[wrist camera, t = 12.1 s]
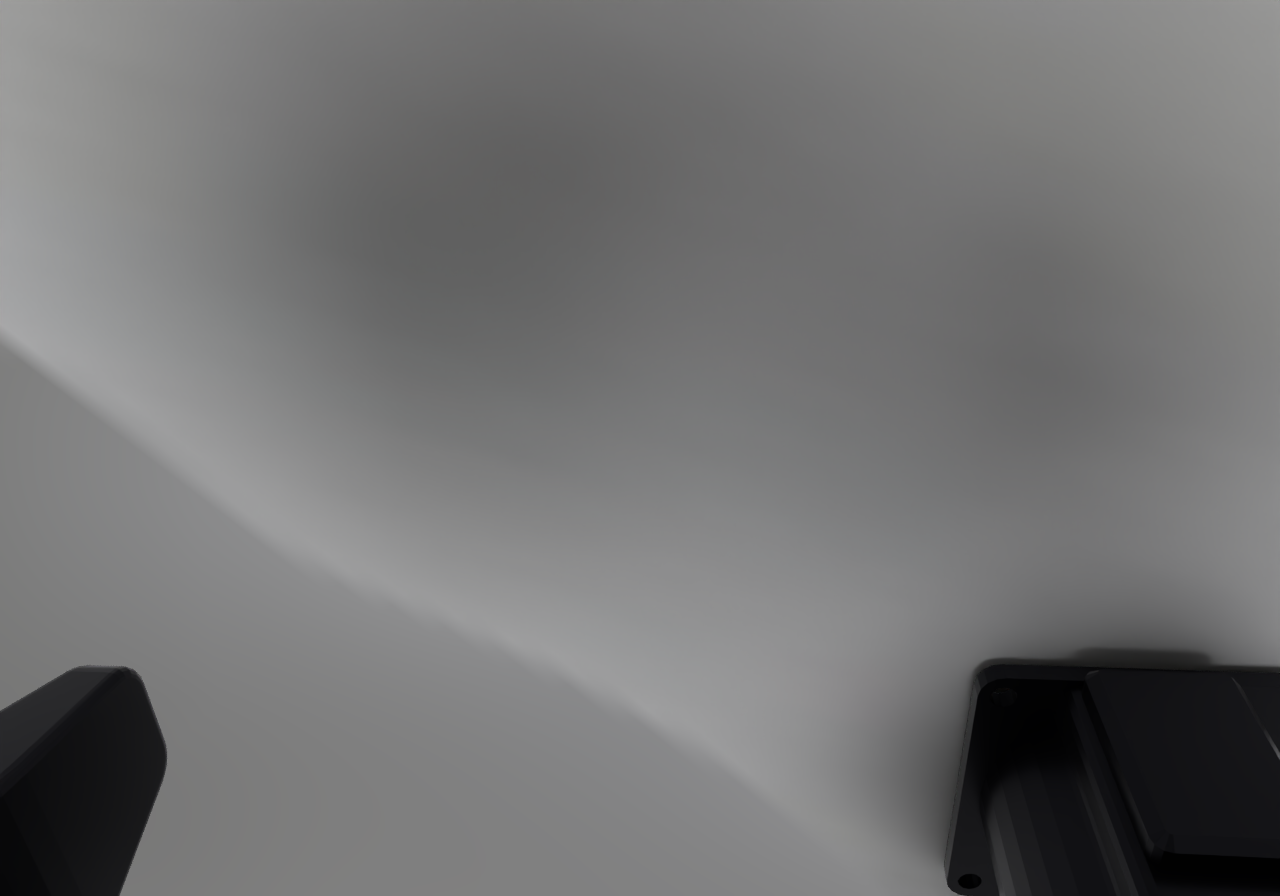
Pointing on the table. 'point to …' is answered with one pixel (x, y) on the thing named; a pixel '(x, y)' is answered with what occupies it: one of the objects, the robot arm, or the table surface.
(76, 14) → the table surface
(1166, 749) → the robot arm
